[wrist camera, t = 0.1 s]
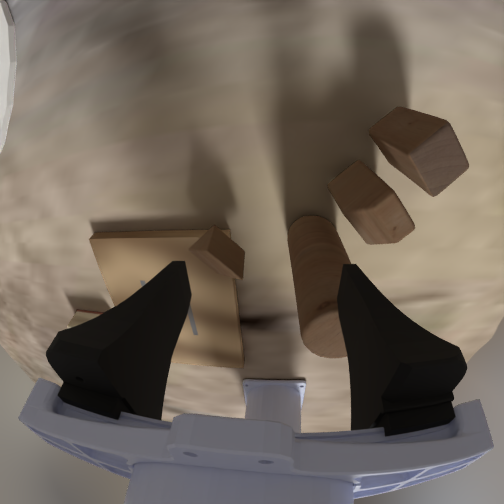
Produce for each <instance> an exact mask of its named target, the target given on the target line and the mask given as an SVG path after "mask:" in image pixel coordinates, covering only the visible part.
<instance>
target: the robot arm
mask: <svg viewBox="0 0 504 504" xmlns="http://www.w3.org/2000/svg"><path fill="white" fill-rule="evenodd" d="M191 297H192V293H191V288H190V283H189V278H188V273H187V268H186V263H185V261H172V262H171V263H169V264H168V265H167V266H166V267H165V268H164V269H162V270H161V271H160V272H159V273H158V274H157V275H156V276H154V277H153V278H152V279H151V280H150V281H149V282H148V283H146V284H145V285H144V286H143V287H141V288H140V289H139V290H138V291H136V292H135V293H134V294H133V295H131V296H130V297H129V298H127V299H126V300H124V301H123V302H121V303H120V304H118V305H117V306H115V307H113V308H112V309H110V310H108V311H106V312H105V313H103V314H101V315H99V316H97V317H95V318H93V319H91V320H89V321H87V322H84V323H82V324H80V325H77V326H74V327H71V328H68V329H65V330H63V331H59V332H58V334H57V335H56V337H55V338H54V340H53V342H52V343H51V345H50V346H49V348H48V350H47V351H46V357H47V359H48V362H49V363H50V365H51V366H52V368H53V369H54V370H55V372H56V373H57V374H58V375H59V377H60V378H61V379H62V380H63V382H64V383H63V385H62V387H60V386H59V385H57V384H55V383H53V382H50V381H48V380H45V379H42V378H38V380H37V382H36V384H35V386H34V388H33V390H32V391H31V394H30V395H29V397H28V399H27V401H26V404H25V405H24V407H23V409H22V411H21V413H20V415H19V417H18V418H19V420H20V421H21V422H22V423H23V424H25V425H26V426H27V427H28V428H29V429H30V430H32V431H33V432H34V433H35V434H37V435H38V436H39V437H40V438H42V439H43V440H44V441H45V442H47V443H48V444H50V445H52V446H54V447H57V448H58V449H60V450H63V451H65V452H67V453H69V454H71V455H73V456H75V457H77V458H79V459H81V460H84V461H86V462H88V463H90V464H93V465H95V466H97V467H100V468H102V469H105V470H107V471H110V472H112V473H115V474H118V475H120V476H123V477H126V478H128V479H130V482H129V486H128V490H127V493H126V497H125V501H124V504H354V499H356V498H362V497H366V496H372V495H377V494H381V493H386V492H390V491H394V490H398V489H401V488H405V487H409V486H412V485H416V484H419V483H422V482H426V481H428V480H432V479H435V478H438V477H441V476H444V475H447V474H450V473H453V472H456V471H458V470H461V469H463V468H465V467H466V466H468V465H469V464H471V463H472V462H474V461H476V460H477V459H479V458H480V457H481V456H483V455H484V454H486V453H487V452H489V451H490V450H491V449H493V447H494V445H493V442H492V437H491V434H490V430H489V427H488V424H487V420H486V417H485V414H484V411H483V408H482V405H481V402H480V399H476V400H473V401H469V402H465V403H462V404H459V405H457V406H455V407H454V408H453V406H452V402H451V401H453V400H454V395H453V392H452V391H453V389H455V387H456V386H457V385H458V383H459V382H460V381H461V380H462V378H463V377H464V375H465V373H466V370H467V364H466V362H465V359H464V357H463V355H462V352H461V350H460V348H459V347H458V346H455V345H453V344H451V343H449V342H447V341H445V340H443V339H441V338H439V337H437V336H435V335H434V334H432V333H430V332H429V331H427V330H425V329H424V328H422V327H421V326H419V325H418V324H417V323H415V322H414V321H412V320H411V319H410V318H408V317H407V316H406V315H405V314H403V313H402V312H401V311H400V310H399V309H397V308H396V307H395V306H394V305H393V304H392V303H391V302H390V301H389V300H388V299H387V298H386V297H385V296H384V295H383V294H382V293H381V292H380V291H379V290H378V289H377V288H376V287H375V285H374V284H373V283H372V282H371V281H370V280H369V279H368V277H367V276H366V275H365V274H364V273H363V272H362V270H361V269H360V268H359V267H358V266H357V265H356V264H343V267H342V273H341V279H340V285H339V290H338V295H337V304H338V314H339V320H340V325H341V329H342V334H343V338H344V342H345V347H346V352H347V356H348V363H349V373H350V388H351V431H339V432H320V433H301V409H302V404H303V398H304V393H305V387H306V381H304V380H253V379H245V380H243V389H244V396H245V402H246V413H245V419H243V418H230V417H220V416H210V415H202V414H185V413H184V414H181V415H179V416H176V417H174V418H173V422H167V421H162V420H161V417H162V408H163V401H164V395H165V388H166V383H167V378H168V373H169V368H170V364H171V359H172V356H173V352H174V349H175V347H176V344H177V341H178V338H179V336H180V333H181V330H182V328H183V325H184V322H185V319H186V317H187V314H188V310H189V306H190V301H191Z"/></svg>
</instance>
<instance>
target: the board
mask: <svg viewBox="0 0 504 504" xmlns="http://www.w3.org/2000/svg"><path fill="white" fill-rule="evenodd" d="M207 231H208V230H164V231H125V232H95V233H94V234H93V235H92V236H91V237H90V239H89V240H90V243H91V246H92V249H93V252H94V255H95V258H96V260H97V263H98V266H99V268H100V271H101V274H102V276H103V279H104V281H105V284H106V286H107V289H108V291H109V294H110V296H111V298H112V301H113V303H114V305H115V306H117V305H118V304H120V303H121V302H123V301H124V300H126V299H127V298H129V297H130V296H131V295H133V294H134V293H135V292H136V291H138V290H139V289H140V288H141V287H143V286H144V285H145V284H146V283H148V282H149V281H150V280H151V279H152V278H153V277H154V276H156V275H157V274H158V273H159V272H160V271H161V270H162V269H164V268H165V267H166V266H167V265H168V264H169V263H171V262H172V261H185V263H186V268H187V273H188V278H189V283H190V288H191V293H192V297H191V301H190V306H189V310H188V314H187V317H186V319H185V322H184V325H183V328H182V330H181V333H180V336H179V338H178V341H177V344H176V347H175V349H174V352H173V356H172V359H171V362H173V363H182V364H192V365H203V366H215V367H230V368H243V367H244V352H243V344H242V336H241V327H240V318H239V309H238V300H237V291H236V282H235V278H232V277H228V276H224V275H221V274H217V273H216V272H215V271H213V270H212V269H211V268H210V267H208V266H207V265H206V264H205V263H203V262H202V261H201V260H200V259H199V258H197V257H196V256H195V255H194V254H192V253H191V252H190V251H189V250H188V249H189V248H190V247H191V246H192V245H193V244H194V243H195V242H196V241H197V240H198V239H200V238H201V237H202V236H203V235H204V234H205V233H206V232H207ZM221 231H222V232H223V233H225V234H226V235H227V236H228V237H229V238H230V239H231V234H230V229H229V230H221Z"/></svg>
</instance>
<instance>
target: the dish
mask: <svg viewBox="0 0 504 504" xmlns="http://www.w3.org/2000/svg"><path fill="white" fill-rule="evenodd" d="M16 66H17V56H16V41H15V24H14V22H13V19H12V16H11V14H10V11H9V8H8V5H7V2H5V1H4V0H0V153H1V151H2V148H3V146H4V144H5V140H6V135H7V130H8V125H9V120H10V116H11V112H12V108H13V101H14V86H15V75H16Z"/></svg>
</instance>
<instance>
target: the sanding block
mask: <svg viewBox="0 0 504 504" xmlns="http://www.w3.org/2000/svg"><path fill="white" fill-rule="evenodd" d="M101 314H103V313H101V312H92V311H85V310H77V312H76V313H75V315H74V316H73V318H72V319H71V321H70V322H69V324H68V326H67V327H68V328H71V327H74V326H77V325H80V324H82V323H84V322H87V321H89V320H91V319H93V318H95V317H97V316H99V315H101Z"/></svg>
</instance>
